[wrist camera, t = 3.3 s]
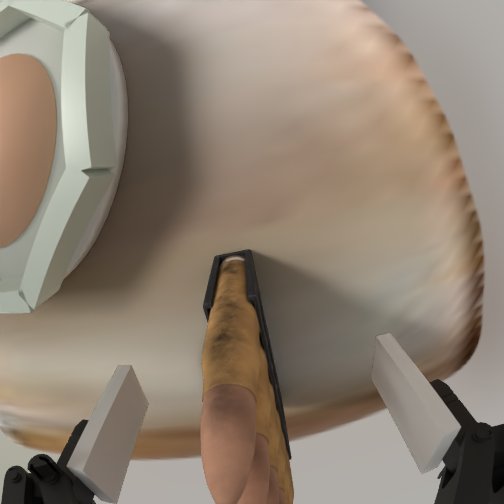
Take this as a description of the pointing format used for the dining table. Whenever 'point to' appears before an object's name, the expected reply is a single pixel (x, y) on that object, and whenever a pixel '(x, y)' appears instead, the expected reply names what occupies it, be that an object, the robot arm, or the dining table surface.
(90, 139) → the octagonal tray
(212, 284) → the ammunition clip
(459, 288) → the dining table surface
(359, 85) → the dining table surface
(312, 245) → the dining table surface
